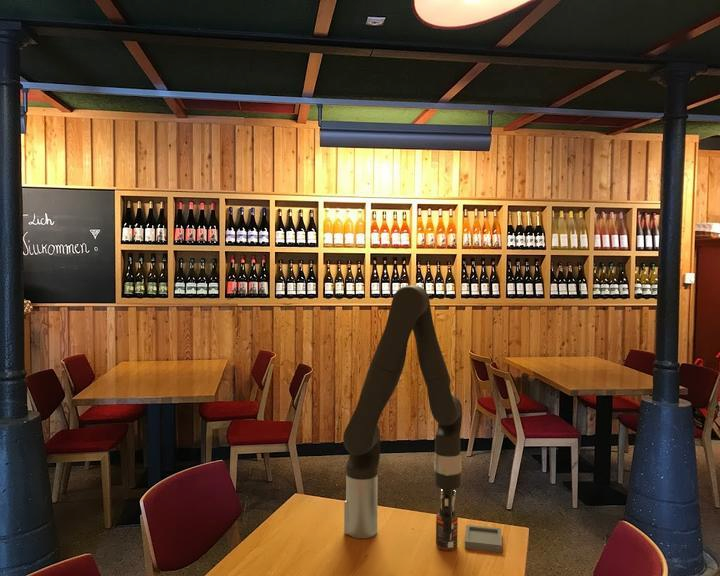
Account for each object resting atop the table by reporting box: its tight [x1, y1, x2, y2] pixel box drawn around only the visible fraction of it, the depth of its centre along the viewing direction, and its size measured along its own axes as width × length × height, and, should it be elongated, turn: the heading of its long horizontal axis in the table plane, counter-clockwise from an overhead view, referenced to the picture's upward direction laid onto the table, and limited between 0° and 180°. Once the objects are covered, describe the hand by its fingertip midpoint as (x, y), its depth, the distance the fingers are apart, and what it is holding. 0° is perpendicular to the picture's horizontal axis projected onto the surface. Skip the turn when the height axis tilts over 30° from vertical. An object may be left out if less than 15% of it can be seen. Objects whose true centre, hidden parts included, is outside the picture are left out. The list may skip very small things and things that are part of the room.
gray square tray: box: [464, 524, 503, 553], centre depth 158 cm, size 10×10×2 cm
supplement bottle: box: [435, 504, 459, 552], centre depth 155 cm, size 6×6×11 cm
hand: (448, 525), depth 155 cm, fingers open, 8 cm apart
